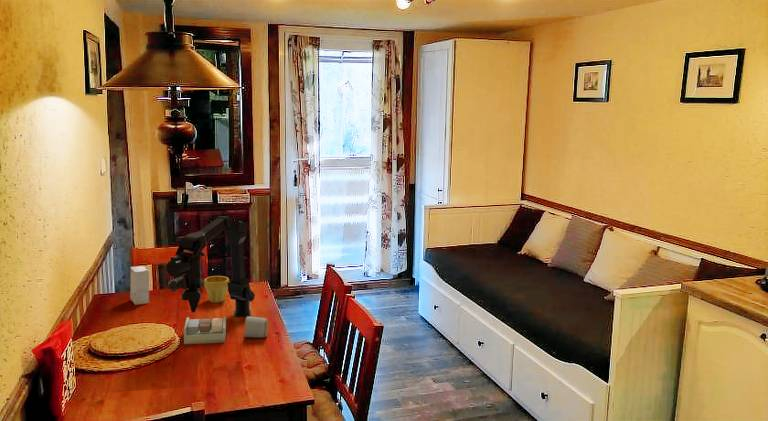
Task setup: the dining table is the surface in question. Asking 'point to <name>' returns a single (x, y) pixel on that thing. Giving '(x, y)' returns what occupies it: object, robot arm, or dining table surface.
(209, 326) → the brown rectangular block
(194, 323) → the grey flat block
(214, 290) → the plant pot
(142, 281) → the skincare box
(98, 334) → the dining table surface
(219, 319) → the ivory key
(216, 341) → the key bed
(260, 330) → the ceramic mug
